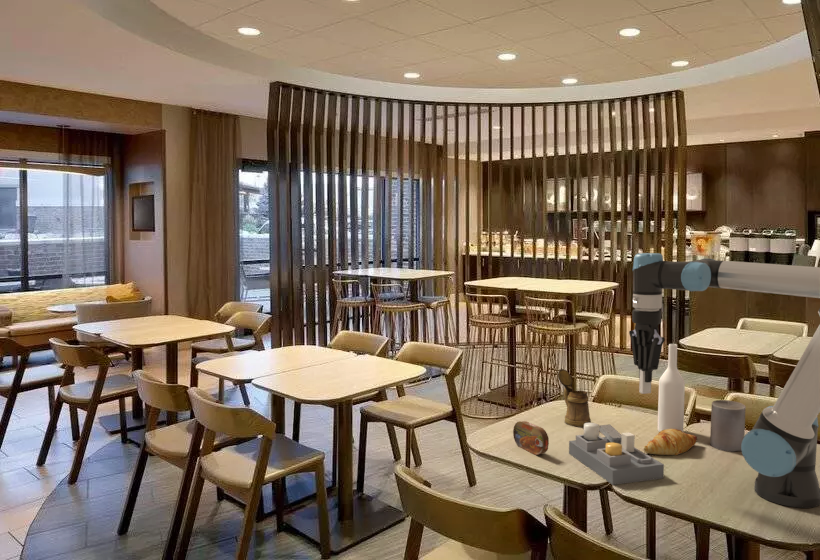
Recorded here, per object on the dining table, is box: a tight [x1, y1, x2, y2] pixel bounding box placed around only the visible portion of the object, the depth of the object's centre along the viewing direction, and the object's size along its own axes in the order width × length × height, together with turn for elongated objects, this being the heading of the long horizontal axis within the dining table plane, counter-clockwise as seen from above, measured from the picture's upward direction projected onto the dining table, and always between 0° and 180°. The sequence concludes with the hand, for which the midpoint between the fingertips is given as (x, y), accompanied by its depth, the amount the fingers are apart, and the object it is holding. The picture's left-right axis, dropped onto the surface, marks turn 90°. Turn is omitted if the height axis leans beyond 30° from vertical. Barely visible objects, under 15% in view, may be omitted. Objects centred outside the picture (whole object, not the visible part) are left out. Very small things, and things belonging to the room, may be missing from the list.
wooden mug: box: [557, 368, 592, 428], centre depth 225 cm, size 9×14×18 cm, turn 30°
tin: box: [512, 420, 550, 456], centre depth 198 cm, size 15×3×8 cm, turn 27°
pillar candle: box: [709, 399, 746, 452], centre depth 199 cm, size 10×10×15 cm
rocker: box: [599, 424, 622, 443], centre depth 193 cm, size 8×4×2 cm, turn 15°
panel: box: [568, 434, 665, 486], centre depth 185 cm, size 24×16×7 cm, turn 15°
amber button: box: [605, 442, 622, 456], centre depth 178 cm, size 4×4×4 cm
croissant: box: [643, 429, 698, 456], centre depth 197 cm, size 21×10×8 cm
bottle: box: [657, 343, 686, 433], centre depth 213 cm, size 8×8×30 cm
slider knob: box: [621, 432, 636, 452], centre depth 185 cm, size 3×3×5 cm
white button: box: [583, 422, 600, 441], centre depth 189 cm, size 4×4×4 cm
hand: (645, 392), depth 176 cm, fingers closed
